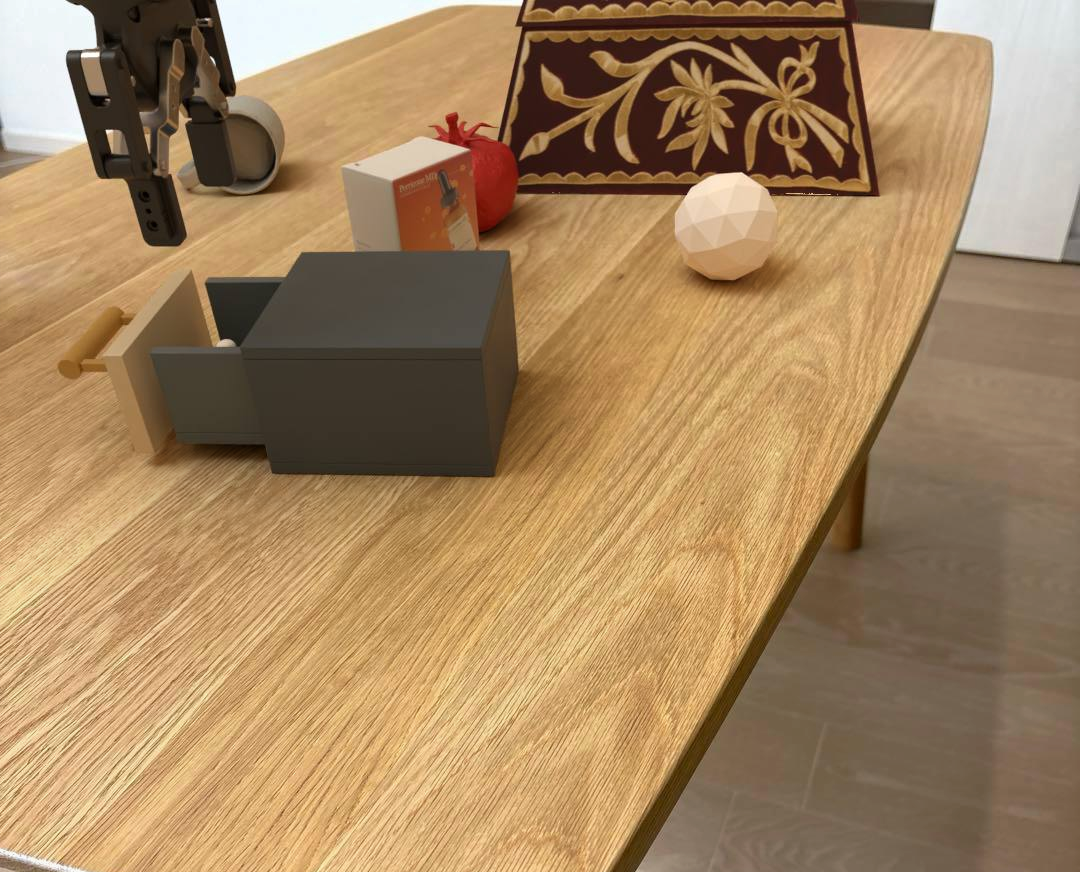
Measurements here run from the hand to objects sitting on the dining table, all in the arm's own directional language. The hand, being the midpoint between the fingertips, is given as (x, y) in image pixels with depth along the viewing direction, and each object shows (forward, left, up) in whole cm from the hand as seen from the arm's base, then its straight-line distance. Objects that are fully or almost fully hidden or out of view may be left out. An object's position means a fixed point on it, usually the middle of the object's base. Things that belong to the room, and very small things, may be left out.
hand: (194, 212), depth 61 cm
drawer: (-1, 0, -13) cm, 13 cm away
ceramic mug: (-15, +42, -14) cm, 47 cm away
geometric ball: (+31, +21, -14) cm, 40 cm away
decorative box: (+28, +47, -14) cm, 57 cm away
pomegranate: (+9, +32, -14) cm, 36 cm away
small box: (+8, +18, -14) cm, 24 cm away
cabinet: (+10, 0, -14) cm, 17 cm away
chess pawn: (0, 0, -12) cm, 12 cm away
